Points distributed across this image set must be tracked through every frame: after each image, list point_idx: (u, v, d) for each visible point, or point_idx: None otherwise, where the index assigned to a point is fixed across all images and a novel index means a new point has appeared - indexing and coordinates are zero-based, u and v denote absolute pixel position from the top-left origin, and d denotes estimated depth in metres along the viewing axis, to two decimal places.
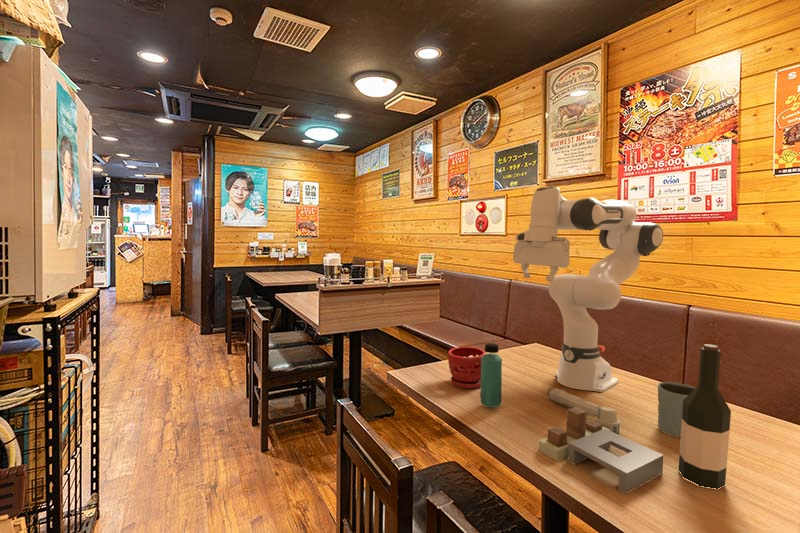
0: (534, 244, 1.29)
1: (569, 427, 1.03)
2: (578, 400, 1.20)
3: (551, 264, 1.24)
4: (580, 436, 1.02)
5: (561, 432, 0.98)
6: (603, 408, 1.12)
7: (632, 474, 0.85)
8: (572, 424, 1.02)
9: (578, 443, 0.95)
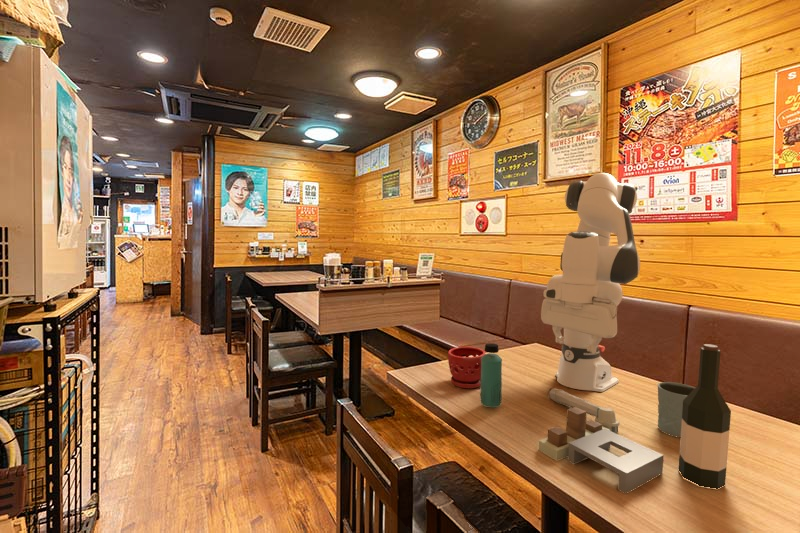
0: (569, 305, 1.03)
1: (569, 427, 1.03)
2: (577, 400, 1.20)
3: (593, 333, 0.98)
4: (580, 436, 1.02)
5: (561, 432, 0.98)
6: (602, 408, 1.12)
7: (632, 474, 0.85)
8: (572, 424, 1.02)
9: (578, 443, 0.95)
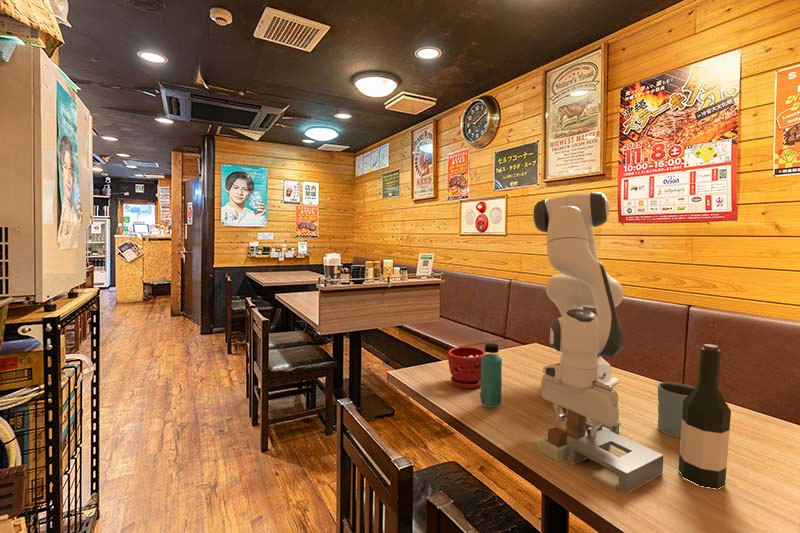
0: (569, 387, 1.00)
1: (569, 427, 1.03)
2: None
3: (595, 419, 0.96)
4: (580, 436, 1.02)
5: (561, 432, 0.98)
6: None
7: (632, 474, 0.85)
8: (572, 424, 1.02)
9: (578, 443, 0.95)
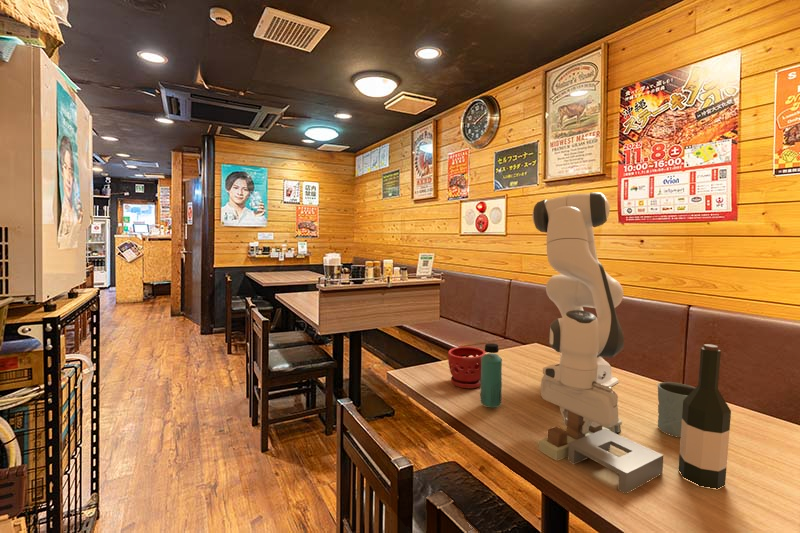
0: (569, 388, 1.01)
1: (569, 427, 1.03)
2: None
3: (594, 420, 0.96)
4: (580, 436, 1.02)
5: (561, 432, 0.98)
6: None
7: (632, 474, 0.85)
8: (572, 424, 1.02)
9: (578, 443, 0.95)
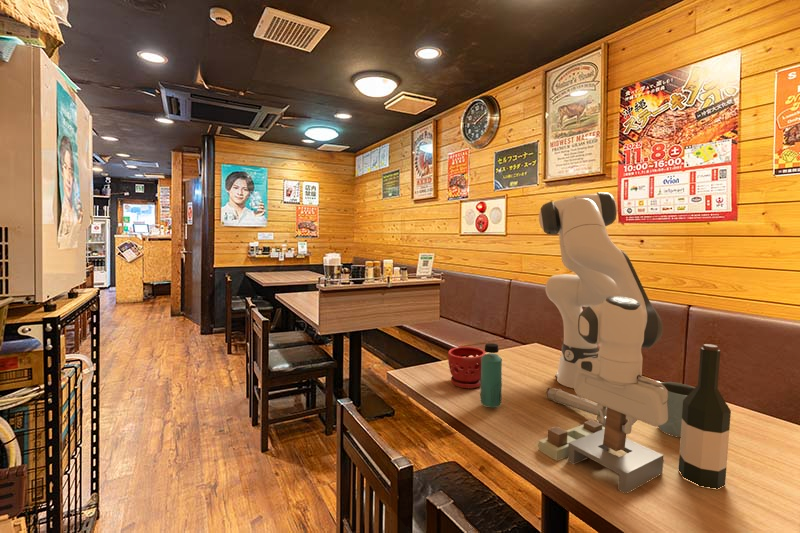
0: (610, 383, 0.90)
1: (608, 426, 0.92)
2: (577, 399, 1.21)
3: (640, 418, 0.86)
4: (621, 438, 0.91)
5: (561, 432, 0.98)
6: None
7: (632, 474, 0.85)
8: (612, 423, 0.92)
9: (578, 443, 0.95)
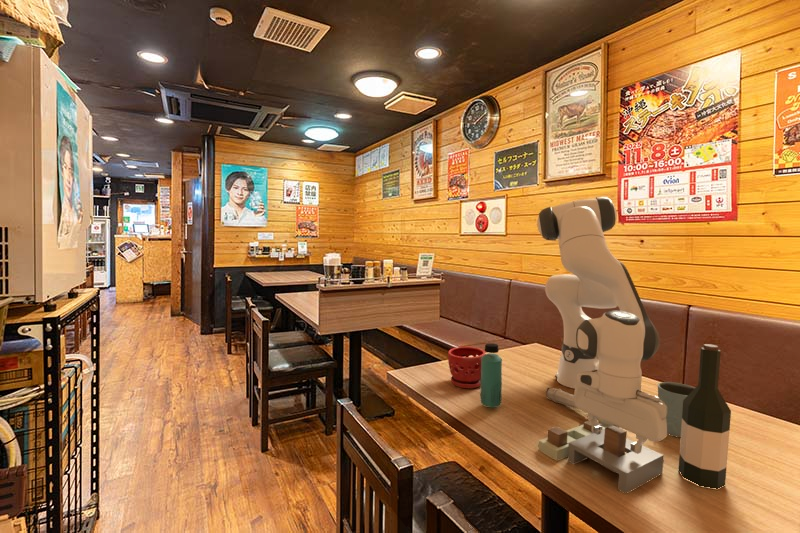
0: (609, 398, 0.90)
1: (607, 448, 0.93)
2: None
3: (639, 433, 0.86)
4: None
5: (561, 432, 0.98)
6: None
7: (632, 474, 0.85)
8: (610, 445, 0.92)
9: (578, 443, 0.95)
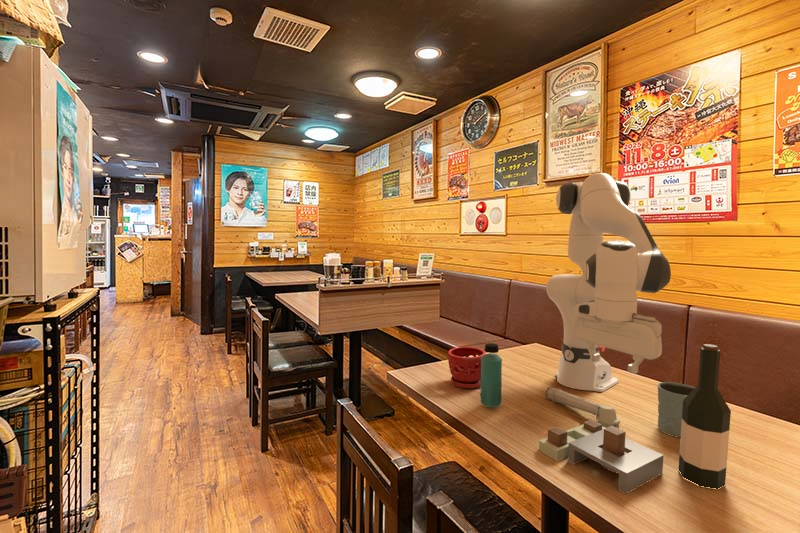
0: (606, 323, 0.94)
1: (606, 449, 0.93)
2: (577, 399, 1.21)
3: (635, 353, 0.90)
4: None
5: (561, 432, 0.98)
6: (602, 406, 1.13)
7: (632, 474, 0.85)
8: (610, 446, 0.92)
9: (578, 443, 0.95)
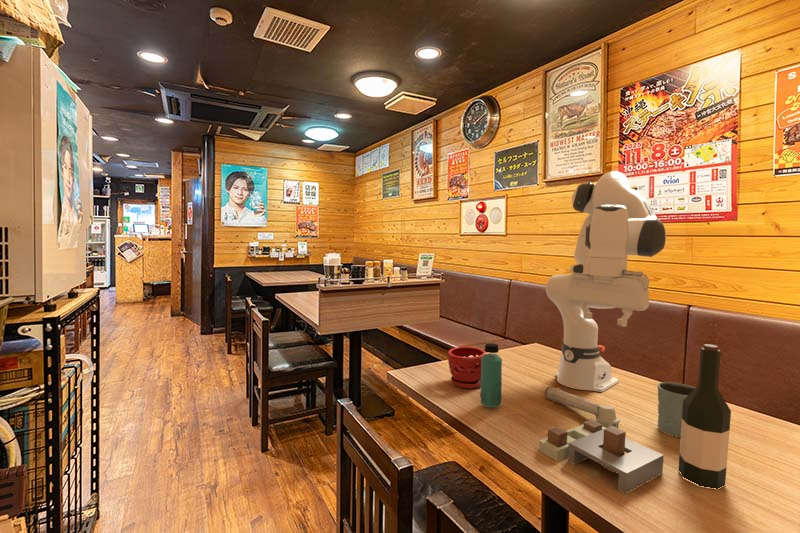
0: (598, 280, 1.01)
1: (606, 449, 0.93)
2: (576, 399, 1.21)
3: (624, 306, 0.97)
4: None
5: (561, 432, 0.98)
6: (602, 406, 1.13)
7: (632, 474, 0.85)
8: (610, 446, 0.92)
9: (578, 443, 0.95)
